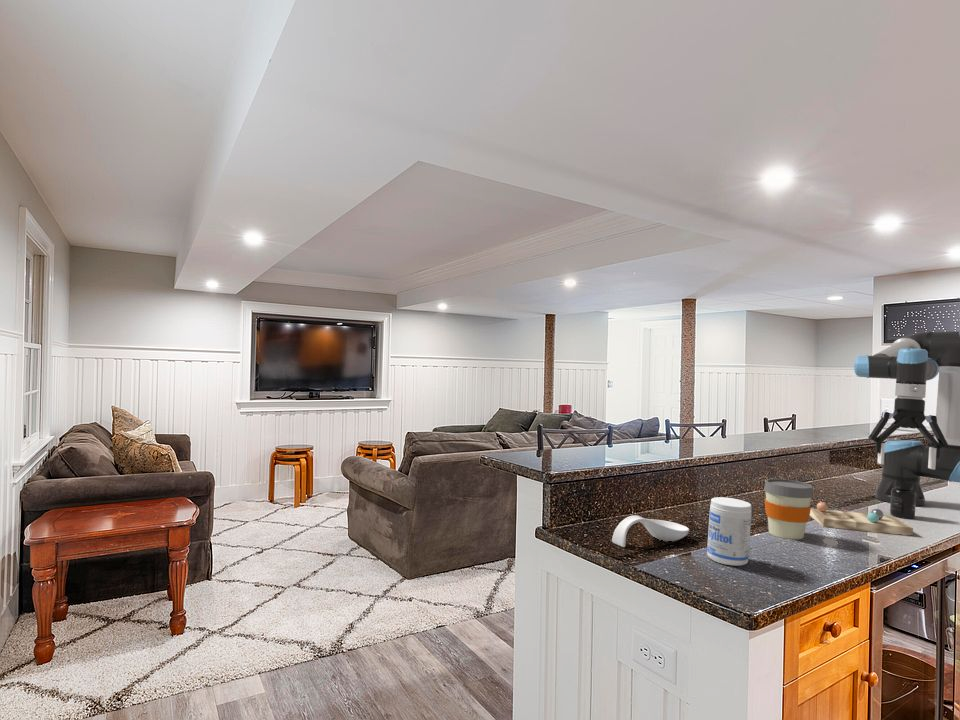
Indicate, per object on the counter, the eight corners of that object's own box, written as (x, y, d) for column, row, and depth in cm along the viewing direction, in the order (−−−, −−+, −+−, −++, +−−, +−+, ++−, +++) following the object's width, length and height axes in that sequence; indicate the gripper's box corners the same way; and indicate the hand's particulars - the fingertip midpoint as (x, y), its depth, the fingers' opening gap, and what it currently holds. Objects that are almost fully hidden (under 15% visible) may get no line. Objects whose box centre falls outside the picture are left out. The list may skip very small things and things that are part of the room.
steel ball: (880, 518, 178) (881, 508, 178) (885, 521, 175) (885, 510, 175) (868, 517, 179) (869, 507, 179) (873, 520, 176) (873, 509, 176)
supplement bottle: (919, 520, 188) (921, 484, 188) (896, 518, 189) (898, 482, 189) (908, 514, 194) (909, 480, 194) (885, 512, 196) (887, 478, 196)
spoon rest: (664, 530, 165) (666, 505, 165) (697, 542, 155) (699, 516, 155) (602, 539, 153) (604, 513, 153) (634, 554, 143) (635, 526, 143)
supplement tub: (701, 559, 141) (704, 500, 140) (713, 550, 148) (716, 494, 148) (742, 570, 134) (745, 509, 134) (753, 560, 142) (756, 502, 141)
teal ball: (876, 521, 174) (876, 511, 174) (880, 524, 171) (880, 514, 171) (865, 520, 175) (865, 510, 175) (869, 523, 172) (869, 513, 172)
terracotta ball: (825, 510, 185) (825, 501, 185) (828, 513, 182) (829, 503, 182) (815, 509, 185) (815, 500, 185) (818, 512, 182) (818, 502, 182)
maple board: (892, 523, 182) (892, 516, 182) (912, 536, 169) (913, 527, 169) (809, 515, 187) (810, 508, 187) (823, 526, 175) (823, 518, 175)
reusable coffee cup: (792, 543, 157) (795, 489, 156) (752, 530, 168) (755, 480, 168) (820, 538, 162) (822, 486, 162) (779, 525, 174) (782, 477, 173)
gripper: (868, 395, 175) (864, 463, 175) (964, 402, 168) (960, 473, 168) (859, 394, 183) (855, 460, 182) (951, 400, 176) (947, 468, 175)
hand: (905, 466), depth 175 cm, fingers open, 13 cm apart
